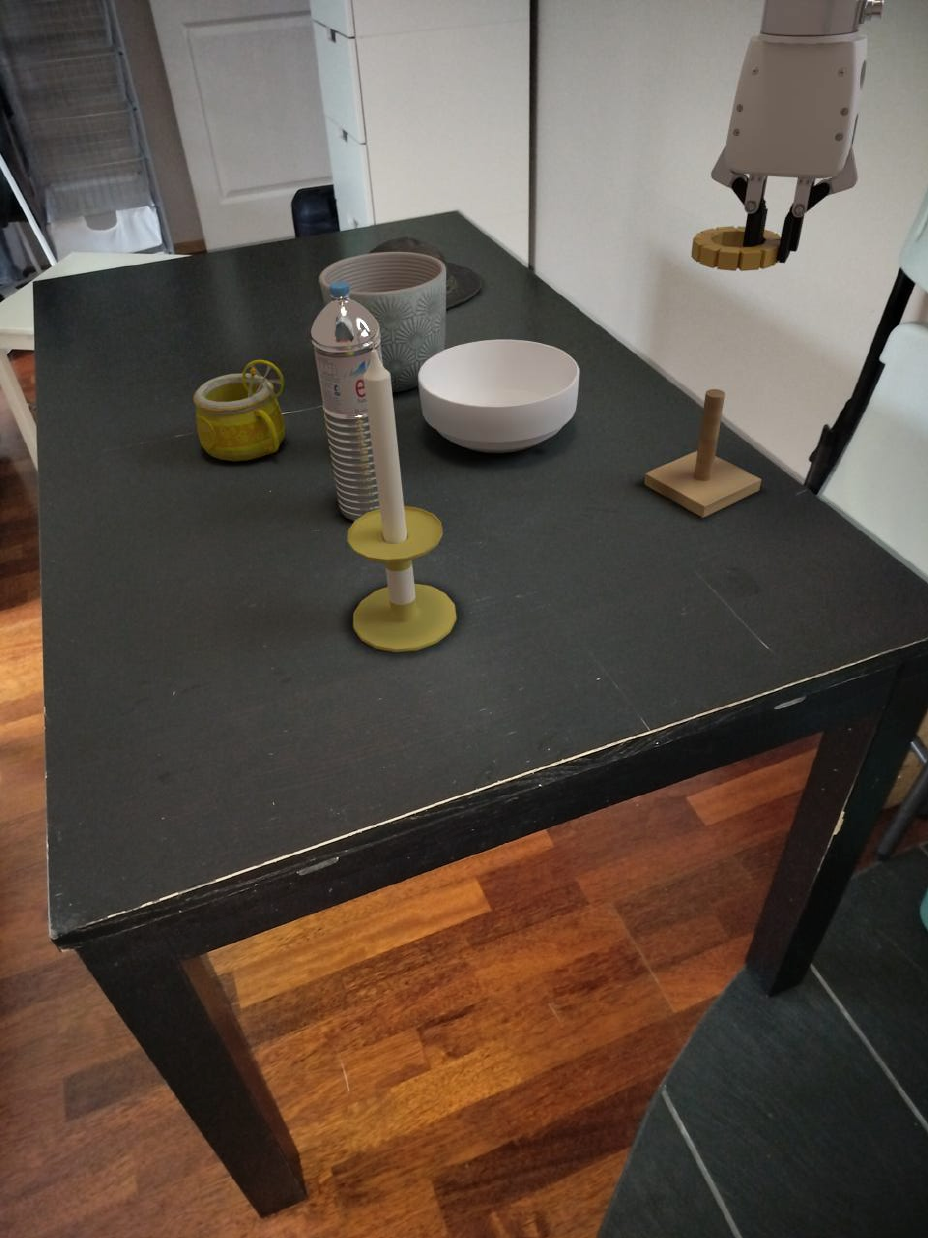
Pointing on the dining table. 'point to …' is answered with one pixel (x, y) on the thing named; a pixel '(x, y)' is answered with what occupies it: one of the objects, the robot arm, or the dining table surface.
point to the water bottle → (347, 396)
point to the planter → (398, 306)
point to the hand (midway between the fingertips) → (768, 255)
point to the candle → (395, 542)
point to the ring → (734, 249)
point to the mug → (240, 415)
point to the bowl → (499, 394)
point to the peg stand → (704, 469)
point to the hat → (465, 277)
